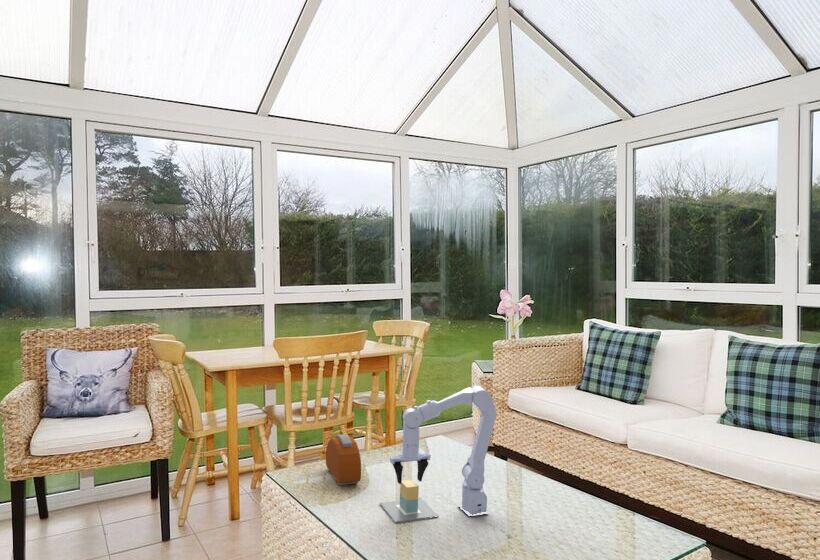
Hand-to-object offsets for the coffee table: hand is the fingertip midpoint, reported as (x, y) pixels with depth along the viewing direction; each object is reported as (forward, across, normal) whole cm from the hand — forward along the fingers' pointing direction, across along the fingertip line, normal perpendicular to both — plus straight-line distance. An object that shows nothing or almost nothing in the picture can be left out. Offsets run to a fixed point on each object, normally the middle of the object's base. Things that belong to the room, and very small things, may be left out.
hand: (409, 481), depth 201 cm
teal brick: (+10, 0, 0) cm, 10 cm away
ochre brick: (+5, 0, 0) cm, 5 cm away
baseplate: (+10, 0, 0) cm, 10 cm away
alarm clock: (+11, +14, -38) cm, 42 cm away
